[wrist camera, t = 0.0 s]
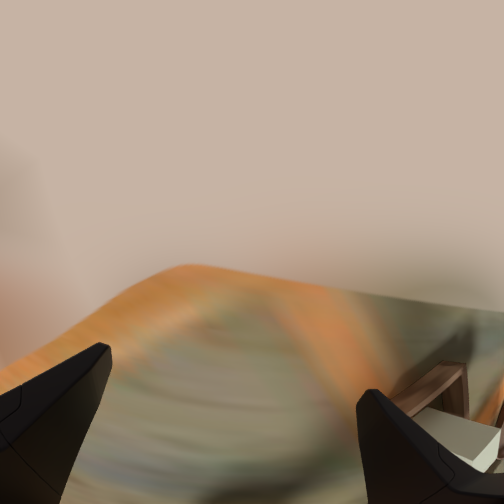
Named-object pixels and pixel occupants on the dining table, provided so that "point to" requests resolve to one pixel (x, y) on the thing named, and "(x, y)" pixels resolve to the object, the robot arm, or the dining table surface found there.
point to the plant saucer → (503, 424)
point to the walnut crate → (438, 390)
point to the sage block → (462, 437)
